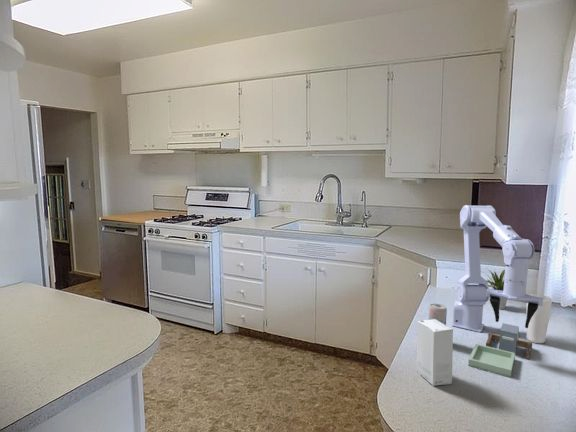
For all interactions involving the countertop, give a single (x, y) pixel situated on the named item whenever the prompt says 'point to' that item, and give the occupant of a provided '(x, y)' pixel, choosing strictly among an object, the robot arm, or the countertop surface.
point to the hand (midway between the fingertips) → (511, 323)
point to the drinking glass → (539, 321)
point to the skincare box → (434, 351)
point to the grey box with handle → (508, 338)
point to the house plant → (498, 286)
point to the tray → (492, 360)
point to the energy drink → (438, 313)
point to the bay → (520, 343)
